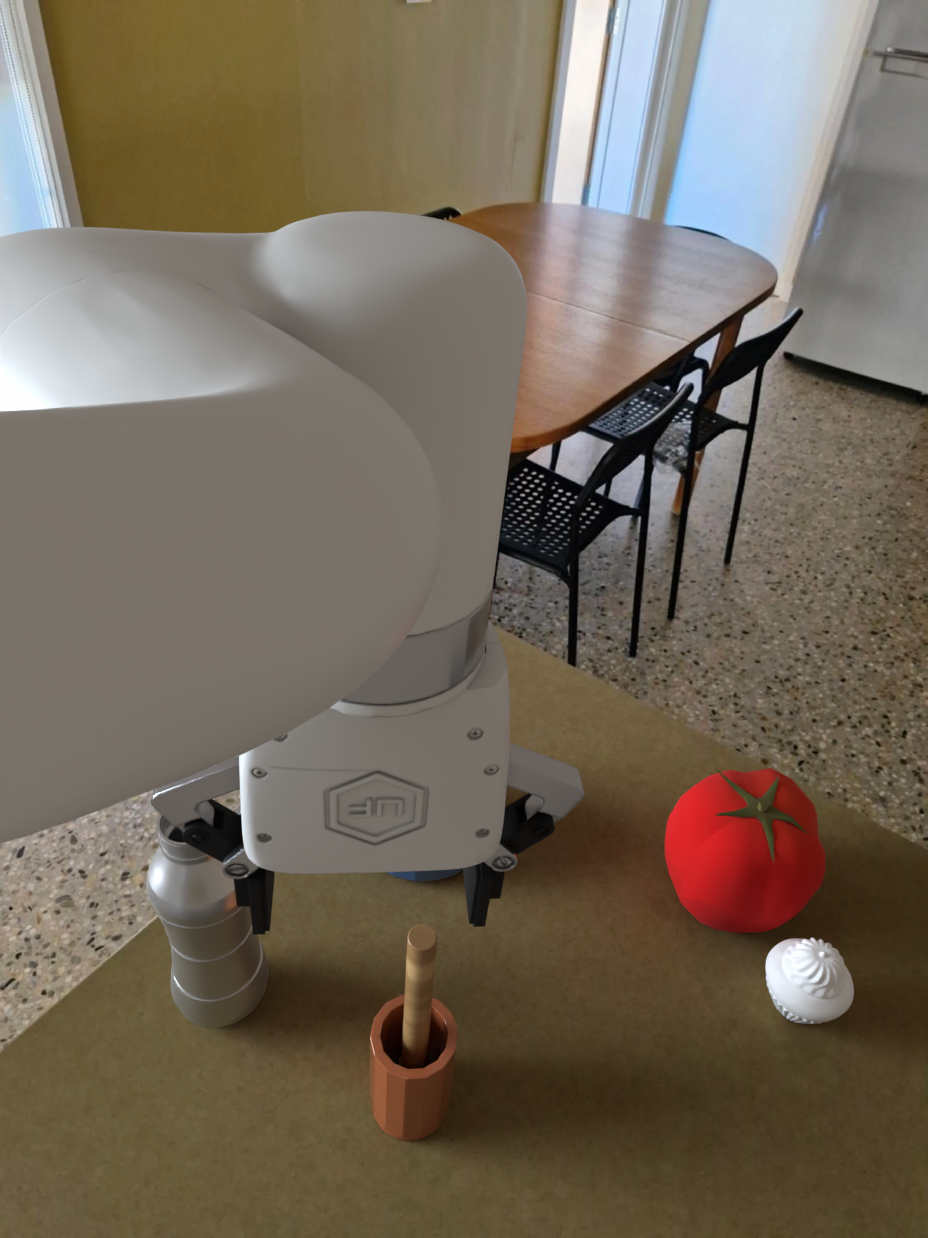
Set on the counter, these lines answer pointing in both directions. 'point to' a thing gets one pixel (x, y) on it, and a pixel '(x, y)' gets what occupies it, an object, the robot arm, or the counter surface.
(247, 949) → the silver metal bottle
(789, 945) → the muffin
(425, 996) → the stirring stick
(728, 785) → the tomato
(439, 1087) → the crock
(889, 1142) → the counter surface
